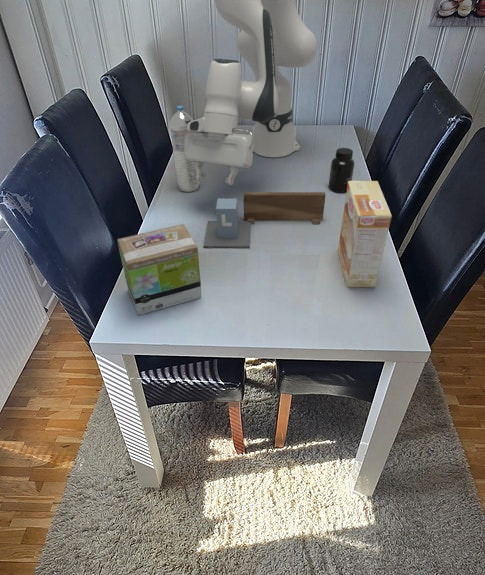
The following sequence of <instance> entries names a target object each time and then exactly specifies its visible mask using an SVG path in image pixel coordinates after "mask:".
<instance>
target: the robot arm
mask: <svg viewBox="0 0 485 575" xmlns="http://www.w3.org/2000/svg"><path fill="white" fill-rule="evenodd" d="M214 4H215V8H216V11H217V12H218V14H219V15H220V17H221V18H222V19H223V20H224V21H225V22H226V23H228V24H230V25H231V26H233V27H235V28H237V29H238V30H240V33H239V35H238V39H237V48H238V53H239V54H240V56H241V58H242V59H243V60H244V61H245V62H246V63H247V64H248V67H250V69H251V71H252V73H253V75H254V78H255V80H254V81H253V80H244V79H242V78H243V77H242V63H241V62H240V61H239V60H236V59H226V58H224V59H223V58H214V59H213V60H211V61H210V66H209V69H208V74H207V80H206V88H205V102H206V105H205V107H204V108H205V109H204V112H203V116H202V117H200V118H197V119H193V121H191V122H189V123H188V124H187V130H188V131H191V132H189V133H188V134H187V135H186V139H185V146H184V156H185V159H186V160H191V161H195V168H196V171H197V172H198V173H197V179H199V181H204V180H206V173H205V172H204V170H203V167H204V165H205V164H204V163H206V164H211V165H212V164H213V165H221V166H227V167H229V171H230V174H229V175H228V176H225V181H224V182H225V184H226V185H230V186H231V185H234V182H235V178H236V177H237V175H238V174H239V172H240V168H243V169H250V167H251V166H252V164H253V156H254V155H253V153H255V154H256V155H259V156H261V157H266V158H282V157H286V156H289V155H290V154H293V153H294V152H297V151H300V149H301V146H300V144H299V143H298V141H297V140H296V130H297V129H296V126H295V124H294V123H293V121H292V120H293V109H292V100H293V99H292V96H293V86H292V84H291V82H290V80H289V79H288V78H287V77H285V76H284V75H283V74H282V72H281V70H280V67H284V68H291V69H297V68H298V69H299V68H306V67H308V66H309V65H311V64H312V62H313V61H314V59H315V57H316V54H317V49H318V43H317V38H316V36H315V34H314V32H312V31H311V30H310V29H309V28H308V27H307V25H306V24H305V23H304V22H303V19H302V18H301V16H300V14H299V12H298V9H297V7H296V3H295V0H214ZM239 119H241V120H247V121H248V120H250V121H253V122H256V123H255V124H253V125H252V128H251V131H250V130H249V129H242V128H241V129H240V128H238V126H239V125H238V123H239Z"/></svg>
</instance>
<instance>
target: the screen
mask: <svg viewBox="0 0 485 575" xmlns="http://www.w3.org/2000/svg"><path fill="white" fill-rule="evenodd" d="M326 196H327V195H326V192H325V191H324V192H323V191H321V192H318V191H317V192H316V191H315V192H312V191H308V192H307V191H303V192H301V191H299V192H298V191H297V192H295V191H293V192H292V191H291V192H289V191H283V192H282V191H281V192H280V191H261V192H260V191H256V192H255V191H244V192H243V194H242V197H243V198H242V199H243V221H247V222H251V225H252V224H255V221H280V222H281V221H283V222H284V221H285V222H289V221H292V222H294V221H296V222H297V221H298V222H300V221H301V222H302V221H303V222H304V221H306V222H308V221H309V222H310V221H311V224H312V225H320V223H321V222H323V220H324V212H325V204H326Z"/></svg>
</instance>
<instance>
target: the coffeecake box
mask: <svg viewBox="0 0 485 575" xmlns="http://www.w3.org/2000/svg"><path fill="white" fill-rule="evenodd" d="M345 193H346V194H345V202H344V207H343V212H342V213H343V214H342V218H341V219H342V220H341V225H340V227H341V228H340V235H339V240H338V247H337V253H338V257H339V261H340V266H341V270H342V274H343V279H344V283H345V287H346V288H375V287H376V285H377V281H378V277H379V272H380V268H381V264H382V258H383V255H384V252H385V247H386V242H387V237H388V234H389V229H390V224H391V222H392V217H393V216H392V213H391V211H390V207H389V206H388V204H387V201H386V199H385V196H384V193H383V191H382V189H381V186H380V184H379V181H378V180H352V181H348V185H347V192H345Z"/></svg>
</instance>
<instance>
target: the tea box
mask: <svg viewBox="0 0 485 575" xmlns="http://www.w3.org/2000/svg"><path fill="white" fill-rule="evenodd" d="M117 245H118V246H117V247H118V251H119V255H120V260H121V265H122V268H123V273H124V277H125V278H124V279H125V282H126V286H127V290H128V292H129V296H130V298H131V299H132V302H133V305H134V307H135V310H136V312H137V316H141V315H143V314H147V313H151V312H154V311H158V310H161V309H162V310H163V309H165V308H169V307H171V306H172V307H173V306H175V305H176V306H177V305H179V304H182V303H186V302H190V301H194V300H197V299H201V298H202V283H201V282H202V281H201V274H200V273H201V272H200V271H201V270H200V261H199V249H198V248H199V247H198V246H197V244H196V243H195V241H194V239H193V237H192V236H191V234H190V232H189V231H188V230H187V227H186V226H185V224H183V223H182V224H176V225H173V226H170V227H164V228H159V229H156V230H151V231H146V232H143V233H139V234H134V235H129V236H125V237H120V238H118V239H117Z"/></svg>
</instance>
